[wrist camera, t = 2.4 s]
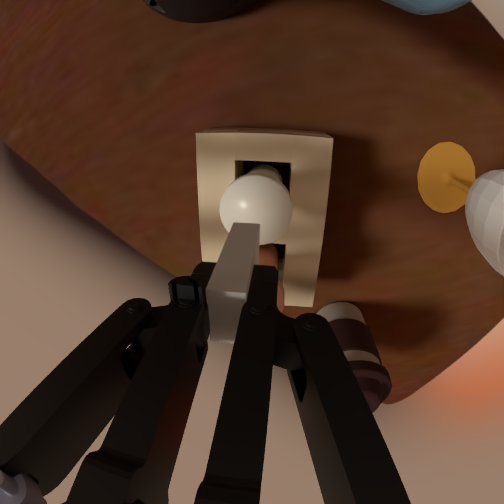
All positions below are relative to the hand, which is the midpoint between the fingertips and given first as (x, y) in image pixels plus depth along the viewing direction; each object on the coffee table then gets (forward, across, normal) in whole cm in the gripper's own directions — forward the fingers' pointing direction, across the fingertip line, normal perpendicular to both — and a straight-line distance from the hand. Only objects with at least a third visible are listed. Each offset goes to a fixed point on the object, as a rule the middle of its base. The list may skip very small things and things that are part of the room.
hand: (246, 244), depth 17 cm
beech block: (+17, 0, -4) cm, 17 cm away
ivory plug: (+13, 0, 0) cm, 13 cm away
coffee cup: (+17, +11, -20) cm, 28 cm away
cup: (+17, +22, +2) cm, 28 cm away
